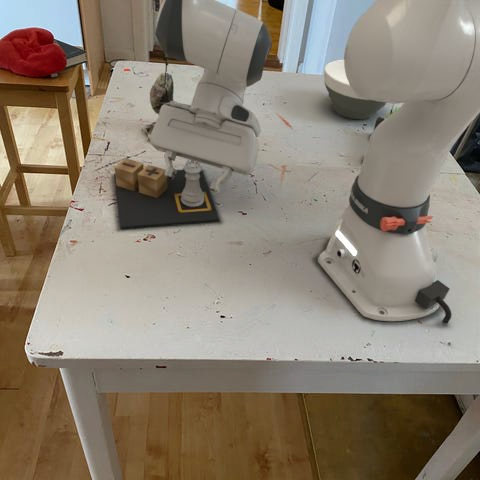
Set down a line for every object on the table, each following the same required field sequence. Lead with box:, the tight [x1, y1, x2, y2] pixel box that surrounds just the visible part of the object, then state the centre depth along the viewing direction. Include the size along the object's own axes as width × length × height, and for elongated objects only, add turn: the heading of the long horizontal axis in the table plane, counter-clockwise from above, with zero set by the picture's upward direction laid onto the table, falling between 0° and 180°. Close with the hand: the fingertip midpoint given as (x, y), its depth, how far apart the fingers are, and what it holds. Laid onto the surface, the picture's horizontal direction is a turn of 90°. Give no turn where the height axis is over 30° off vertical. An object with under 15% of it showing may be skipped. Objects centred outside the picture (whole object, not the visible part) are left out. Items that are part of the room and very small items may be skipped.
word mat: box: [113, 169, 220, 230], centre depth 91 cm, size 18×18×1 cm
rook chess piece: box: [181, 160, 204, 207], centre depth 88 cm, size 4×4×8 cm
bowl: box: [323, 58, 387, 120], centre depth 123 cm, size 20×20×10 cm
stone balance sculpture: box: [144, 47, 174, 140], centre depth 102 cm, size 8×11×20 cm
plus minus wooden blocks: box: [114, 157, 167, 198], centre depth 91 cm, size 4×9×4 cm, turn 68°
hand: (191, 184), depth 87 cm, fingers open, 8 cm apart
